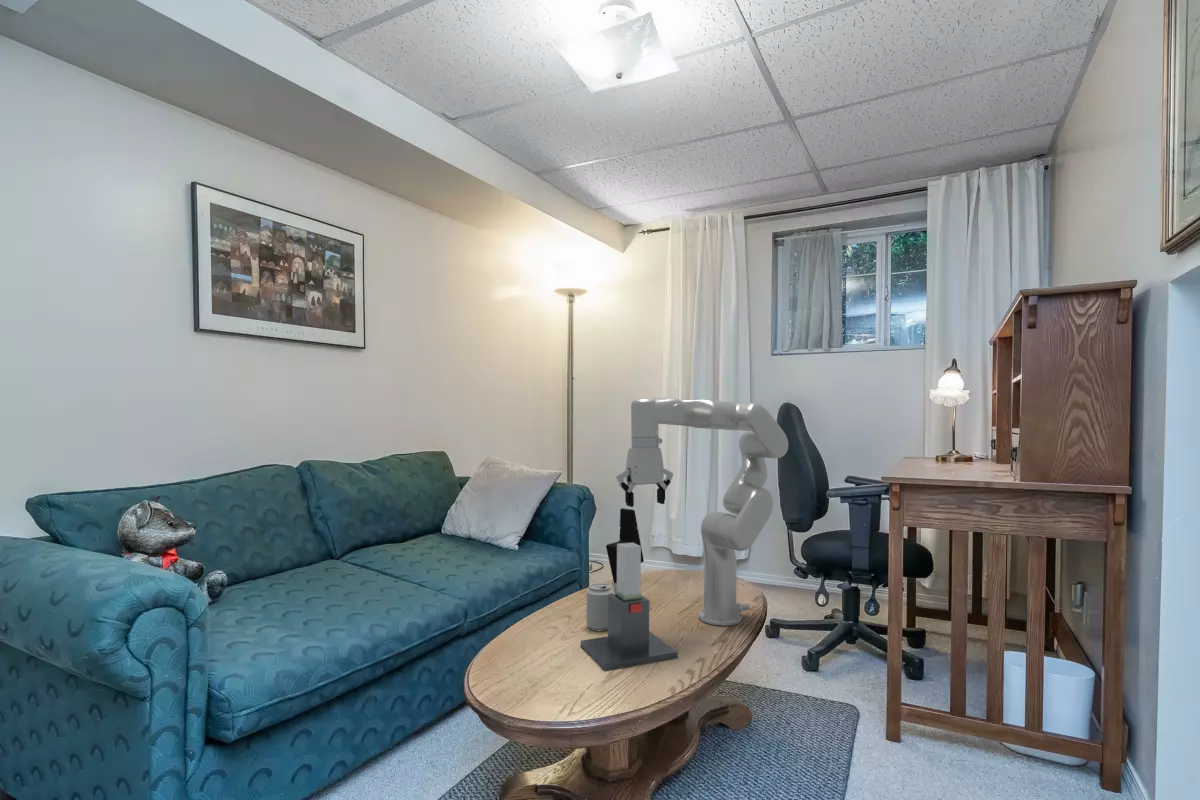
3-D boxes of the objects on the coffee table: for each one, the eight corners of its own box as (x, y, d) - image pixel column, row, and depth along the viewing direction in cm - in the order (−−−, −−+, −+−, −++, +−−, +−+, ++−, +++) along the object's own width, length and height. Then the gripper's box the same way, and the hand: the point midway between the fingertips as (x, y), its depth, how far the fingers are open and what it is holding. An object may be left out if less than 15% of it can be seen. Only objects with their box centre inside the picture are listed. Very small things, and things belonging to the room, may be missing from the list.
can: (610, 633, 169) (610, 589, 170) (583, 630, 171) (584, 588, 171) (614, 623, 177) (615, 582, 177) (589, 621, 178) (589, 580, 178)
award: (630, 595, 203) (631, 505, 204) (644, 598, 200) (644, 507, 201) (604, 607, 191) (605, 511, 191) (618, 610, 188) (619, 513, 188)
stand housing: (648, 635, 168) (648, 584, 168) (677, 658, 153) (678, 602, 153) (580, 646, 160) (581, 592, 160) (604, 670, 145) (605, 611, 145)
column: (632, 616, 160) (633, 542, 160) (640, 622, 155) (641, 546, 155) (615, 619, 158) (616, 543, 158) (623, 625, 153) (624, 547, 154)
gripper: (665, 441, 176) (665, 500, 176) (611, 443, 169) (611, 505, 169) (678, 442, 169) (679, 504, 169) (622, 445, 162) (623, 509, 162)
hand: (645, 504), depth 169 cm, fingers open, 9 cm apart
